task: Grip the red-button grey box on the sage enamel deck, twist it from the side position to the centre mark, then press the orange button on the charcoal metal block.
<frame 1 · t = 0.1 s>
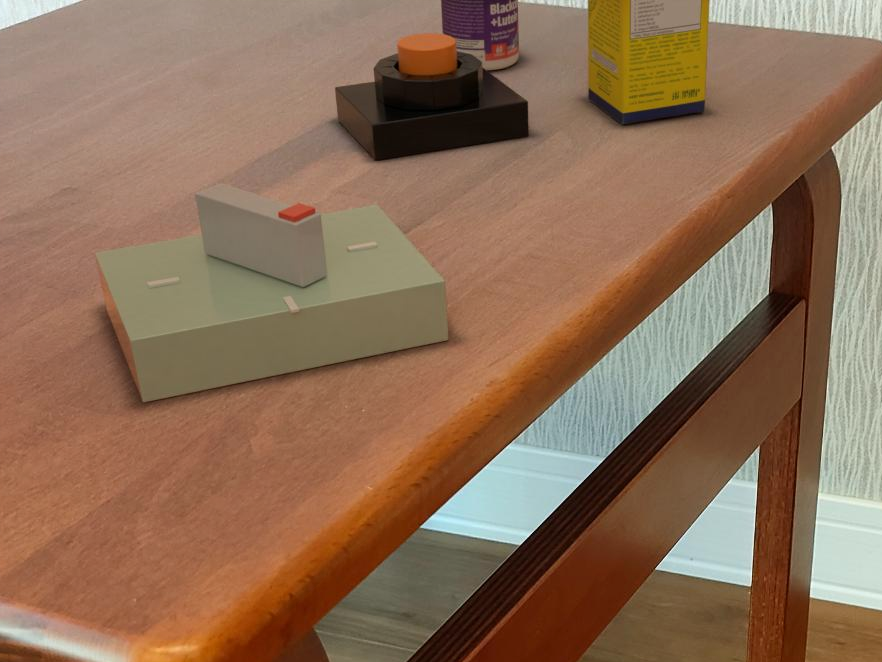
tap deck: (273, 324, 66), on the table
button: (427, 55, 86), point 5 cm above the table, slide at 0.2 cm
supplement box: (644, 109, 92), on the table
pill bottle: (482, 64, 100), on the table
button block: (431, 128, 89), on the table
red-button grey box: (260, 231, 64), point 5 cm above the table, hinge at -60.0°
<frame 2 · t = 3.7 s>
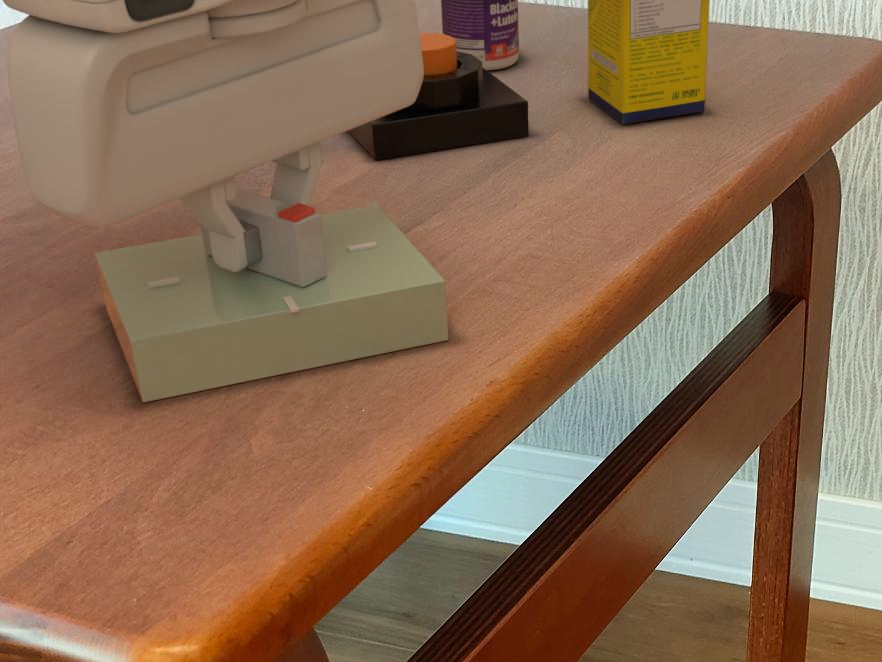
hand: (263, 253, 64), 4 cm above the table, tool pointing down, fingers closed on red-button grey box, 2 cm apart
red-button grey box: (260, 231, 64), point 5 cm above the table, hinge at -60.1°, touching gripper
everything else where it was.
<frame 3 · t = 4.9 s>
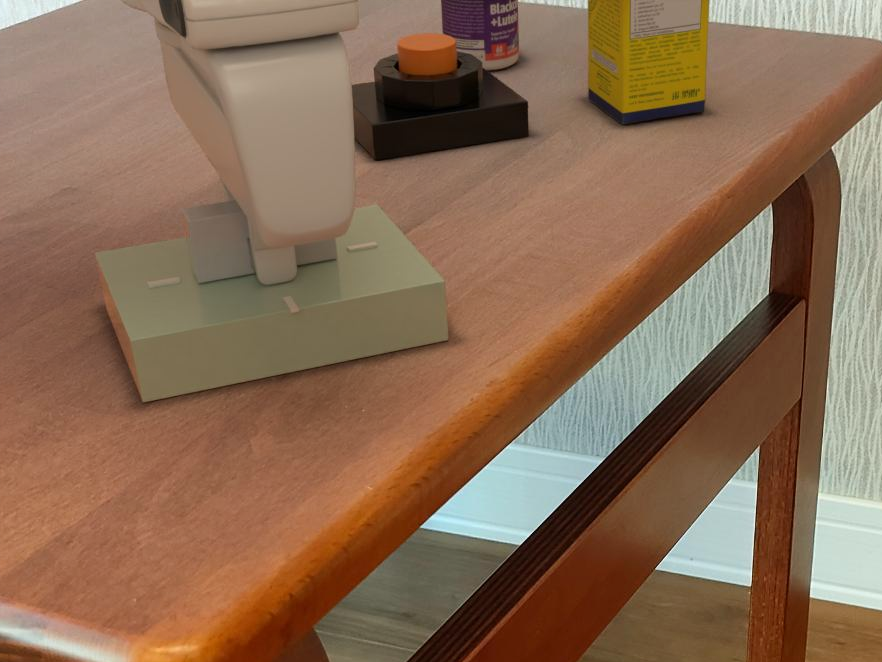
hand: (266, 264, 65), 3 cm above the table, tool pointing down, fingers closed on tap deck, 2 cm apart
red-button grey box: (260, 231, 64), point 5 cm above the table, hinge at 0.0°
everything else where it was.
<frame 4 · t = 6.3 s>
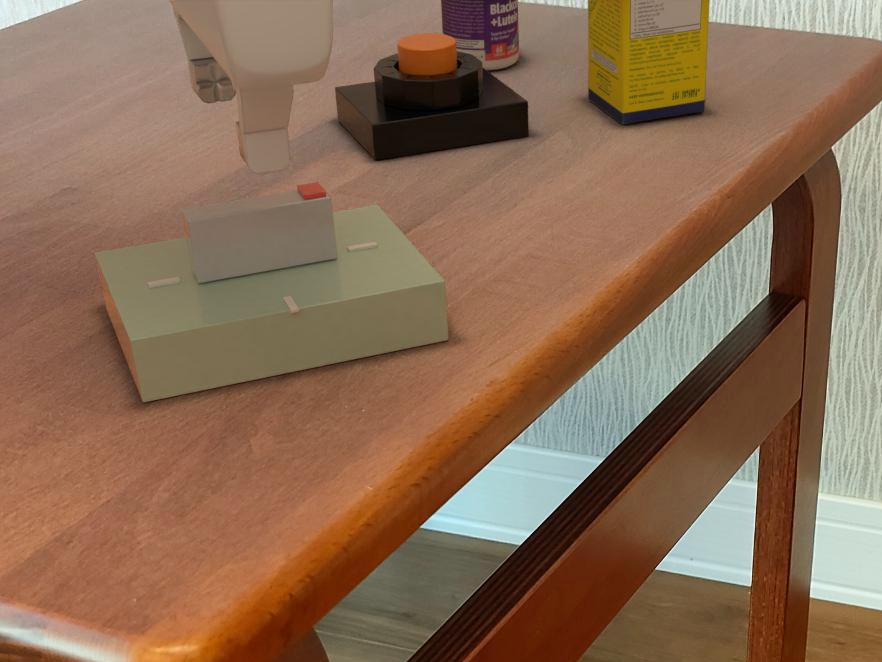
hand: (239, 130, 61), 9 cm above the table, tool pointing down, fingers open, 8 cm apart
nothing on the table moved.
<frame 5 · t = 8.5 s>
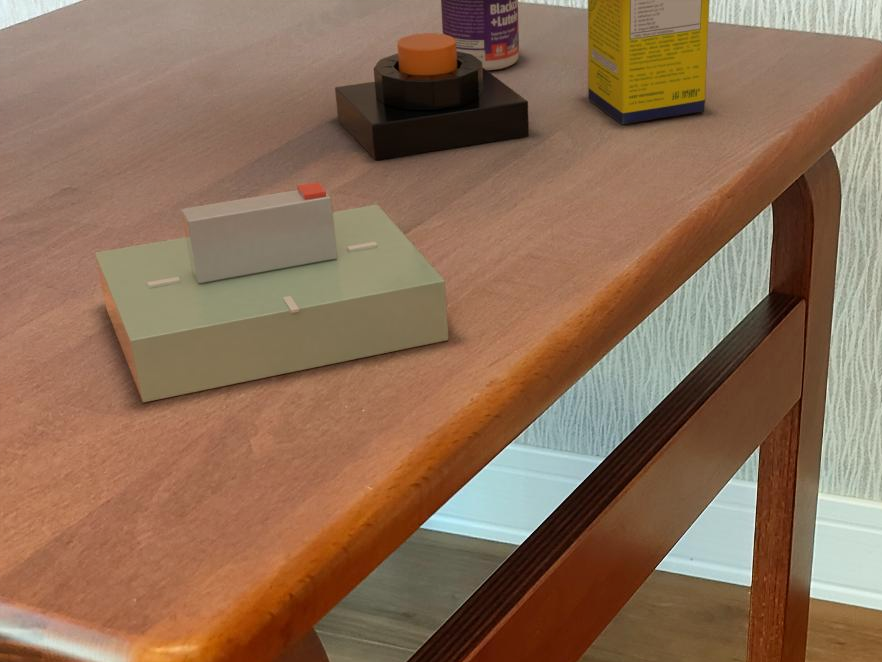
nothing on the table moved.
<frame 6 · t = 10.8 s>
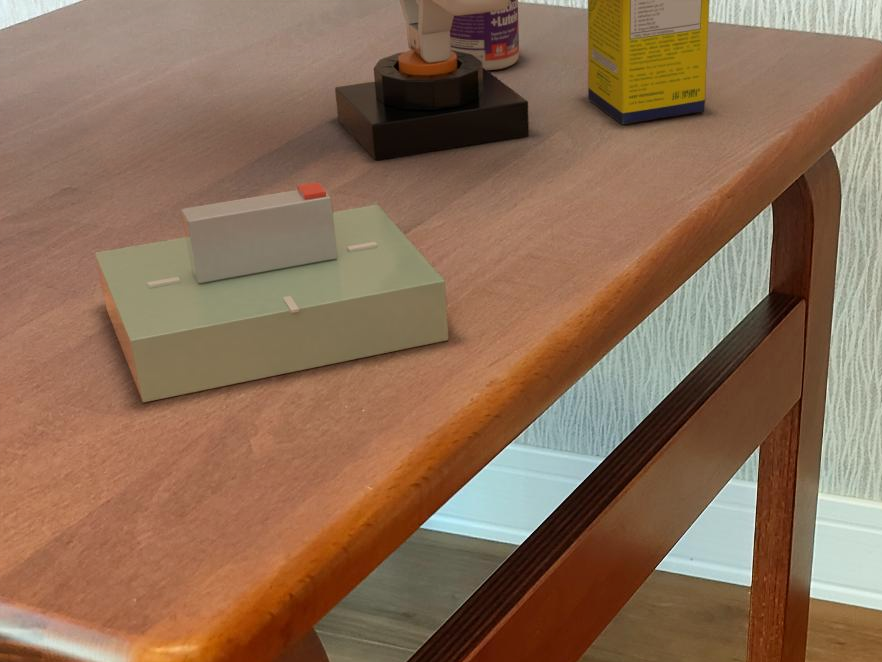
hand: (429, 55, 86), 5 cm above the table, tool pointing down, fingers closed, pressing on button
button: (428, 70, 87), point 4 cm above the table, slide at -0.7 cm, touching gripper
everything else where it was.
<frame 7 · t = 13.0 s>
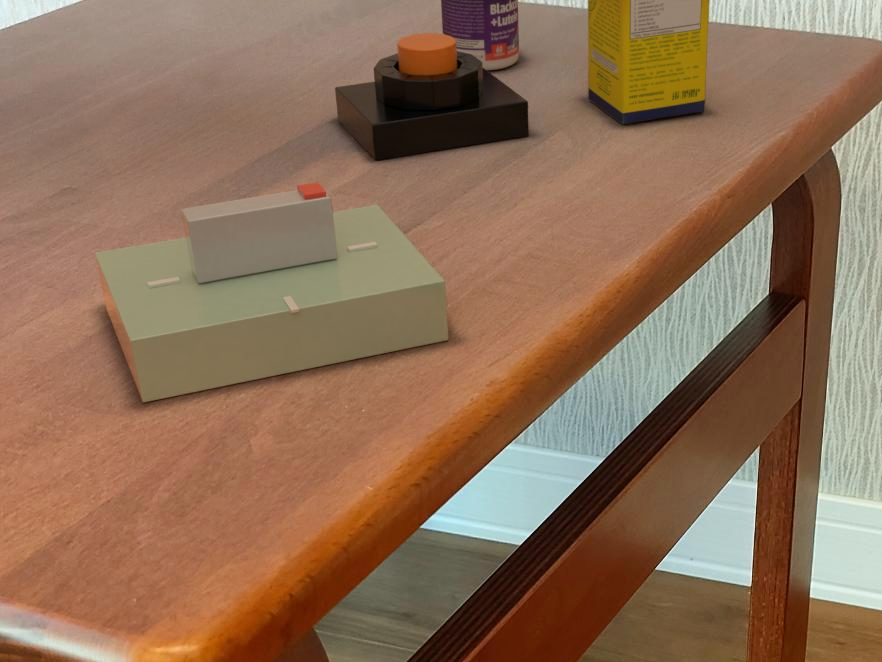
button: (427, 55, 86), point 5 cm above the table, slide at 0.2 cm
everything else where it was.
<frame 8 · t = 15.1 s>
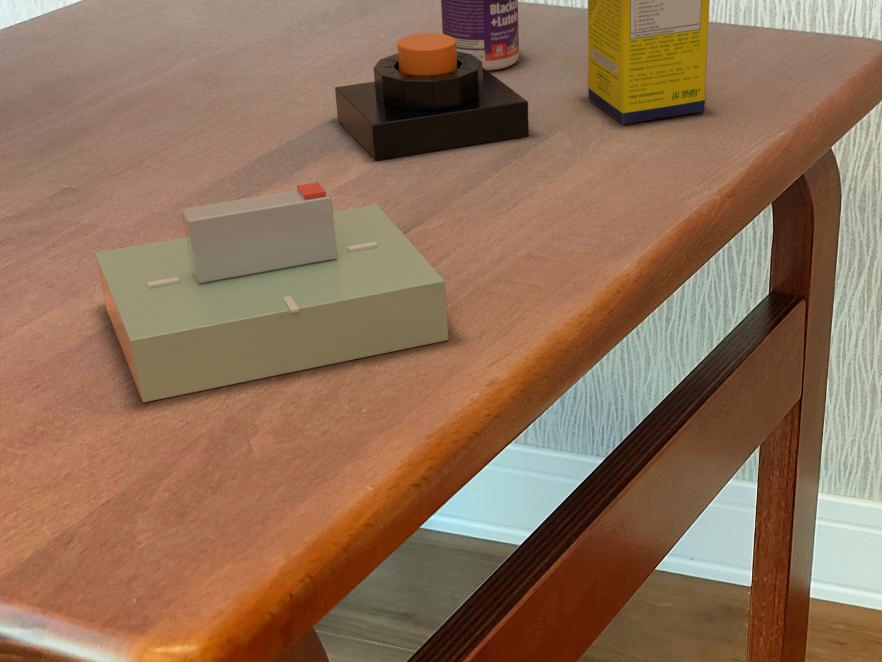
nothing on the table moved.
at the end: red-button grey box at +0° (first picture: -60°); button pushed in 1.0 cm at the most during the clip, back to 0.2 cm at the end; button slide at 0.2 cm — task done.
